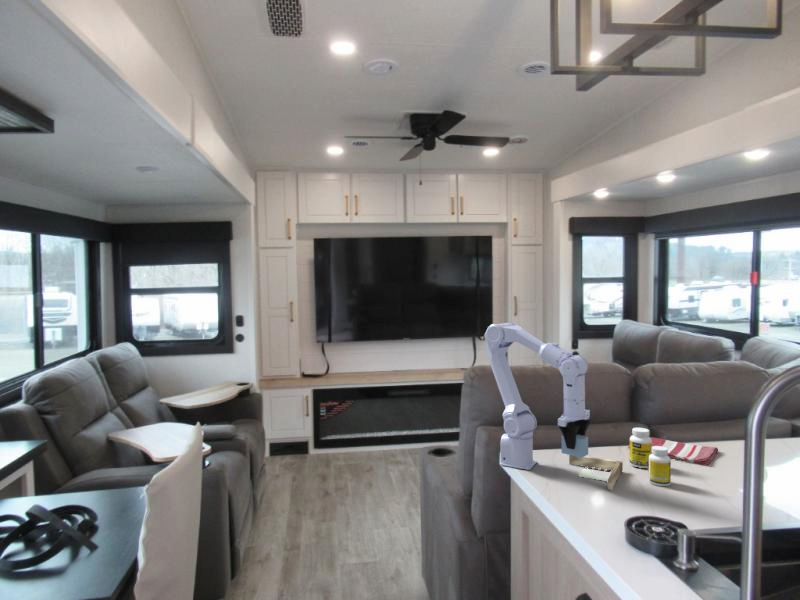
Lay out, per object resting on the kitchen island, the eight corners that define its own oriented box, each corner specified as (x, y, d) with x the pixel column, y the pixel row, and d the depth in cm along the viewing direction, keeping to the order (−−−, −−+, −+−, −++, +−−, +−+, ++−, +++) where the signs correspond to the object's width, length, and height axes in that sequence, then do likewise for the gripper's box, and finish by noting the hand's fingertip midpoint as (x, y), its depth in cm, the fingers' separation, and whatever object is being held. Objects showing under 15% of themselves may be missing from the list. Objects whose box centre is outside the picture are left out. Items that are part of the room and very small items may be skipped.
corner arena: (556, 480, 143) (556, 470, 143) (570, 463, 157) (570, 453, 157) (613, 491, 136) (613, 480, 136) (622, 471, 149) (622, 461, 149)
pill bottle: (629, 468, 152) (629, 431, 152) (629, 461, 158) (628, 425, 158) (653, 470, 150) (652, 433, 150) (651, 463, 156) (651, 427, 155)
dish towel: (708, 468, 152) (708, 459, 152) (626, 452, 168) (626, 444, 168) (718, 453, 165) (718, 445, 165) (641, 440, 180) (641, 432, 180)
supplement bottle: (673, 487, 138) (673, 451, 137) (651, 486, 139) (651, 450, 138) (667, 479, 143) (667, 445, 143) (646, 478, 144) (646, 444, 144)
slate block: (561, 452, 145) (561, 435, 145) (568, 449, 148) (568, 432, 147) (581, 457, 141) (581, 439, 140) (588, 454, 143) (588, 436, 143)
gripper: (574, 405, 136) (575, 456, 136) (599, 396, 146) (600, 443, 146) (550, 401, 141) (551, 450, 141) (576, 393, 151) (577, 438, 151)
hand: (574, 446), depth 144 cm, fingers closed on slate block, 4 cm apart
